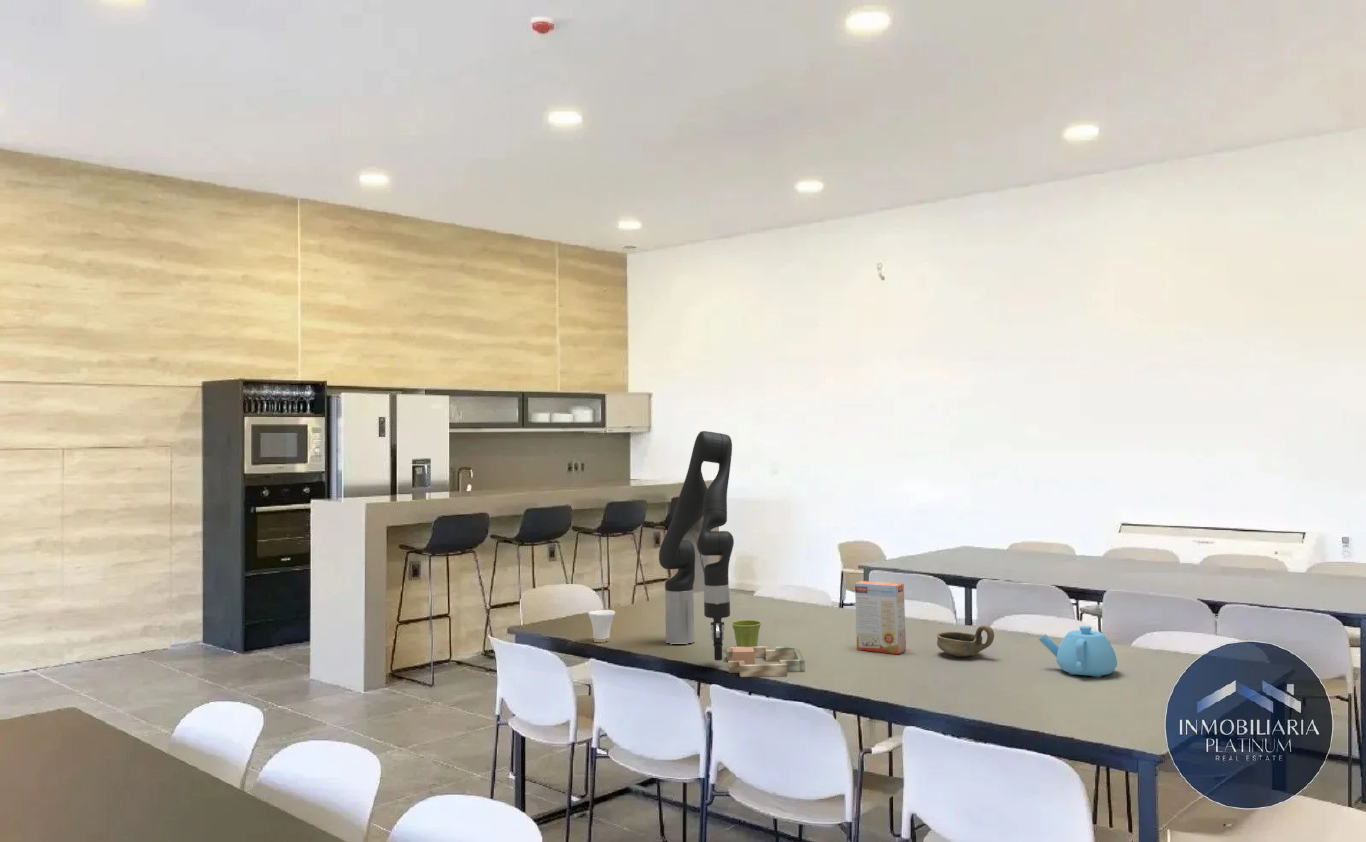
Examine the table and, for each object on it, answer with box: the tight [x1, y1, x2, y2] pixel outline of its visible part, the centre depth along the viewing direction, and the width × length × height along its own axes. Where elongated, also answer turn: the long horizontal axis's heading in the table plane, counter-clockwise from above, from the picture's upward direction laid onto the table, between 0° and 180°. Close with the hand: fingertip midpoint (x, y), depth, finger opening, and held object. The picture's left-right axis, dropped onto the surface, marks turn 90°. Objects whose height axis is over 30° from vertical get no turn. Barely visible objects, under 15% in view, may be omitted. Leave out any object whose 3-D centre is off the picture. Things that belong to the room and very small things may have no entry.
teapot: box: [1038, 625, 1118, 678], centre depth 268 cm, size 20×20×13 cm
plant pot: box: [730, 619, 762, 647], centre depth 305 cm, size 9×9×9 cm
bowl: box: [936, 624, 995, 658], centre depth 290 cm, size 14×18×10 cm
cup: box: [587, 609, 616, 639], centre depth 324 cm, size 9×9×10 cm
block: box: [732, 647, 756, 665], centre depth 284 cm, size 6×6×5 cm
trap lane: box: [726, 645, 806, 678], centre depth 284 cm, size 22×25×4 cm
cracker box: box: [854, 580, 907, 655], centre depth 300 cm, size 14×6×21 cm, turn 53°
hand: (718, 659), depth 284 cm, fingers closed
